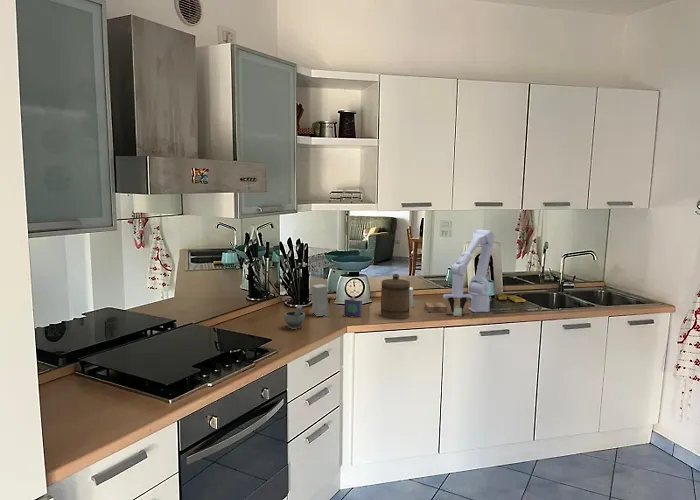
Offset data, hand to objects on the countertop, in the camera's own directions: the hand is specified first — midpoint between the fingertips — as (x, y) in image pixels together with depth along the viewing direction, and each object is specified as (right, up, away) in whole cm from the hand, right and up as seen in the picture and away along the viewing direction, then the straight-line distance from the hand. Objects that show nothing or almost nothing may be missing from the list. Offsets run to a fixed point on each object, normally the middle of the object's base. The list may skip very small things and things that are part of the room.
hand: (456, 311), depth 284 cm
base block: (-10, 0, +9) cm, 14 cm away
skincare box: (-72, -2, -4) cm, 72 cm away
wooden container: (-33, -2, -3) cm, 33 cm away
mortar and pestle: (-82, -5, -28) cm, 87 cm away
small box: (-25, +1, +17) cm, 31 cm away
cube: (0, -2, 0) cm, 2 cm away
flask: (-55, -2, -6) cm, 55 cm away
